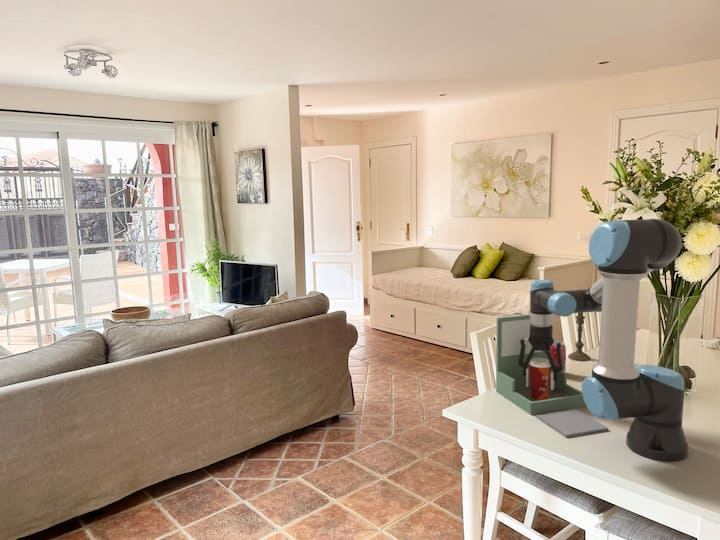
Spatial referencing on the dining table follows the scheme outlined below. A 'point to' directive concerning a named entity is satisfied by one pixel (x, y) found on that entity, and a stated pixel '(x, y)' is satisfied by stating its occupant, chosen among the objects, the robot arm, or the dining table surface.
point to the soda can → (563, 351)
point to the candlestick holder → (579, 342)
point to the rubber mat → (571, 423)
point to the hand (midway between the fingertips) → (540, 387)
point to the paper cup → (540, 378)
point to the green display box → (512, 373)
